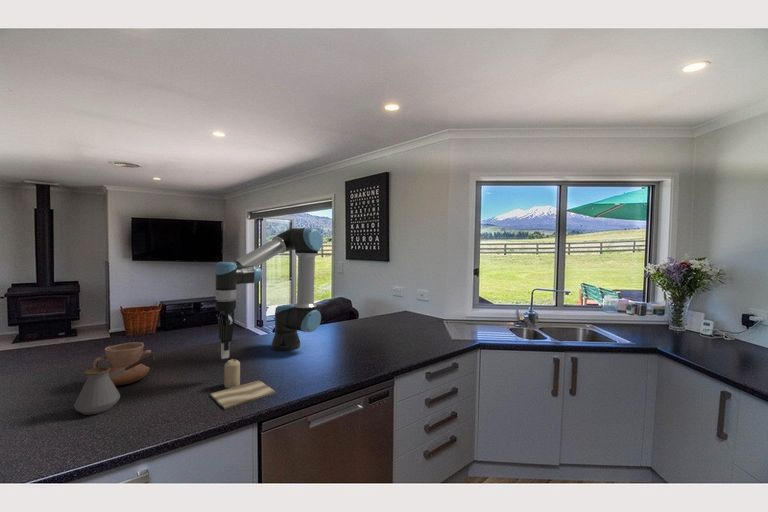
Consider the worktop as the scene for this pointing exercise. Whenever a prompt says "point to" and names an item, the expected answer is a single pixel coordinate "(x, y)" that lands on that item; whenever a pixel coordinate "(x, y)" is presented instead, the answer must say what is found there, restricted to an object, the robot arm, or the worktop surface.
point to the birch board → (242, 394)
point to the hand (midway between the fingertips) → (225, 357)
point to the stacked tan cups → (125, 362)
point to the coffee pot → (100, 390)
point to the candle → (232, 373)
